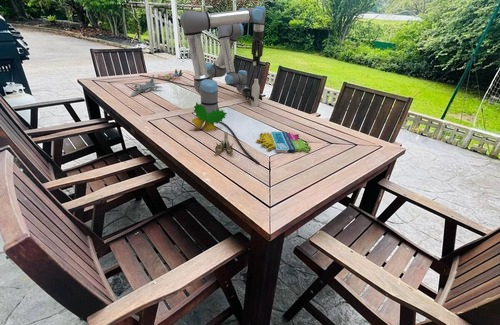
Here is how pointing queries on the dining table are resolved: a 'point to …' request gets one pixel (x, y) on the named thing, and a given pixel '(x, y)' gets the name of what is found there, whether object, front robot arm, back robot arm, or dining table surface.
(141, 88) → the airplane
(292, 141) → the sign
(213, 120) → the ornament
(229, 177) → the dining table surface
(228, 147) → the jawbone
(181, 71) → the toy
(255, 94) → the bottle
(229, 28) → the back robot arm
